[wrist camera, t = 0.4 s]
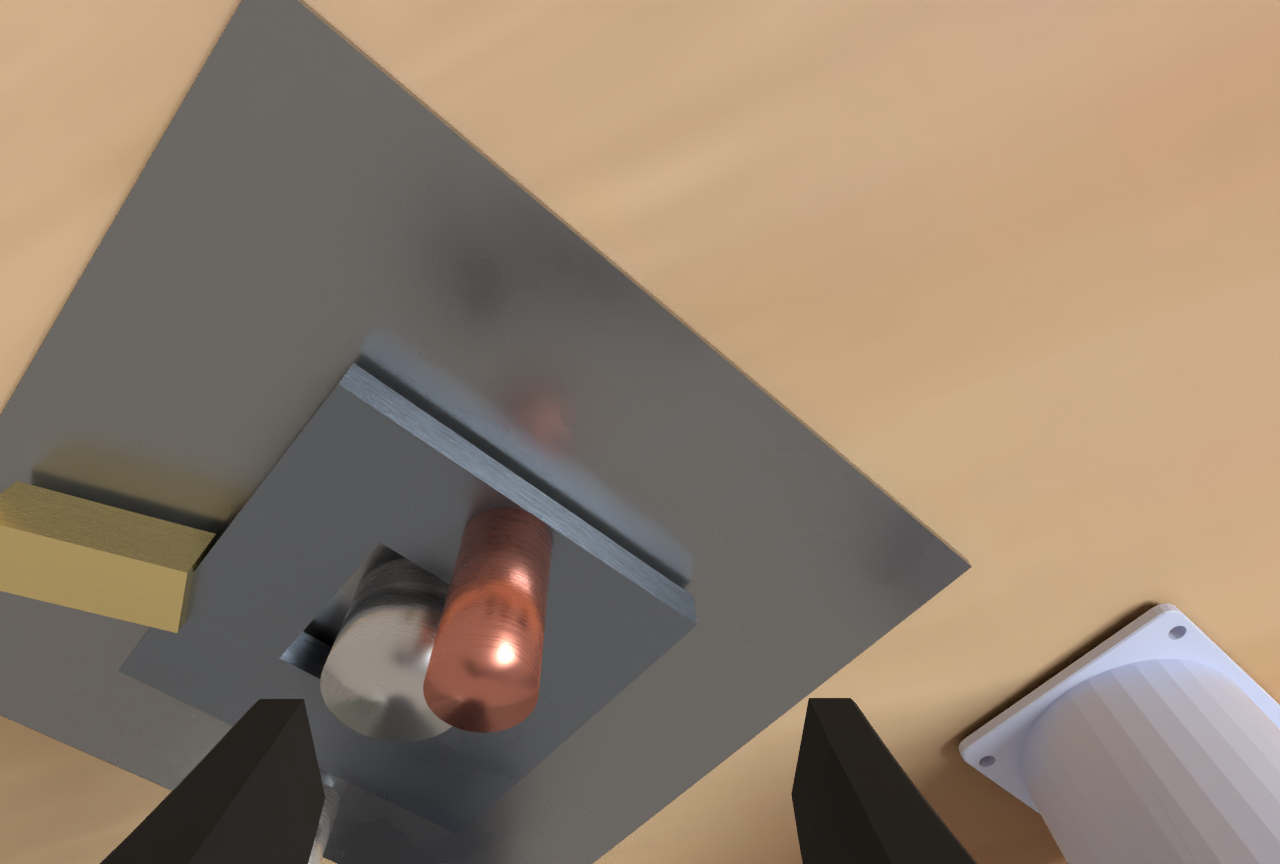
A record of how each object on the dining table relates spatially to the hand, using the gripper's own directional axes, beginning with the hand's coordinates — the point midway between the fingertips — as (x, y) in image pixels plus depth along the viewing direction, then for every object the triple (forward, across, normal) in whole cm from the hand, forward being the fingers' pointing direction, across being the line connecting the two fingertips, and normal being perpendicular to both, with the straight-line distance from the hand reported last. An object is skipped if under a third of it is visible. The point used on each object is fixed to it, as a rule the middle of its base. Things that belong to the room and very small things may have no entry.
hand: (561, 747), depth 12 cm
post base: (+10, +4, +6) cm, 12 cm away
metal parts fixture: (+9, +6, +4) cm, 12 cm away
